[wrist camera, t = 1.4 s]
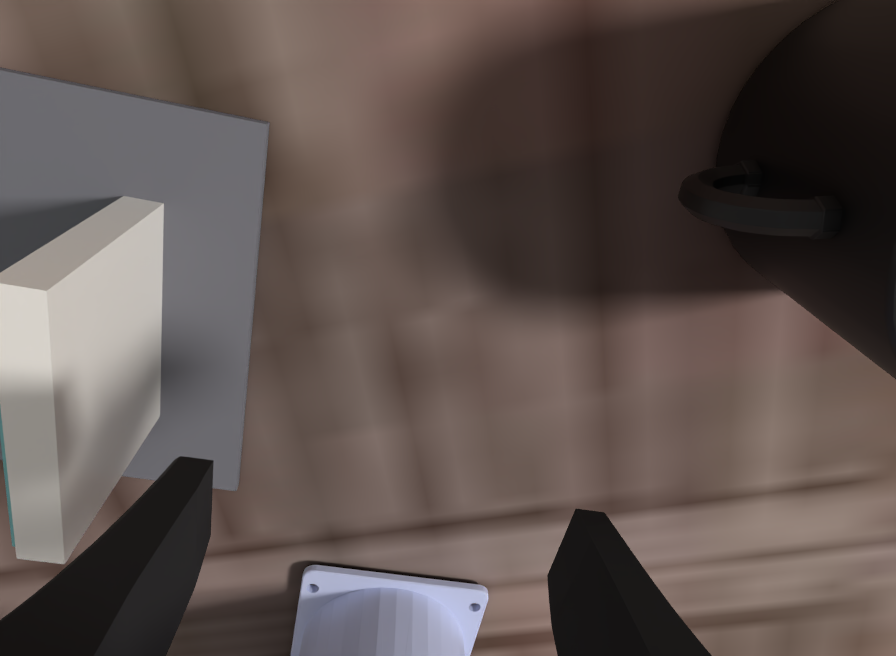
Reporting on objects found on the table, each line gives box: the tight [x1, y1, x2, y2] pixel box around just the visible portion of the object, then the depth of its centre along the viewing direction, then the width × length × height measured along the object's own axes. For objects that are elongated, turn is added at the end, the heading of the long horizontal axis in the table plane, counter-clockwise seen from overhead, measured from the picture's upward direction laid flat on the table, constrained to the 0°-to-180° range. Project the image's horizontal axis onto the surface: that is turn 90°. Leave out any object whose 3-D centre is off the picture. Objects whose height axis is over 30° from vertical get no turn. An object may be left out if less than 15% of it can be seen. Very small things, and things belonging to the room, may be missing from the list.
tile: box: [0, 196, 164, 564], centre depth 19 cm, size 8×1×7 cm, turn 168°
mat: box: [0, 68, 270, 491], centre depth 22 cm, size 14×13×1 cm
